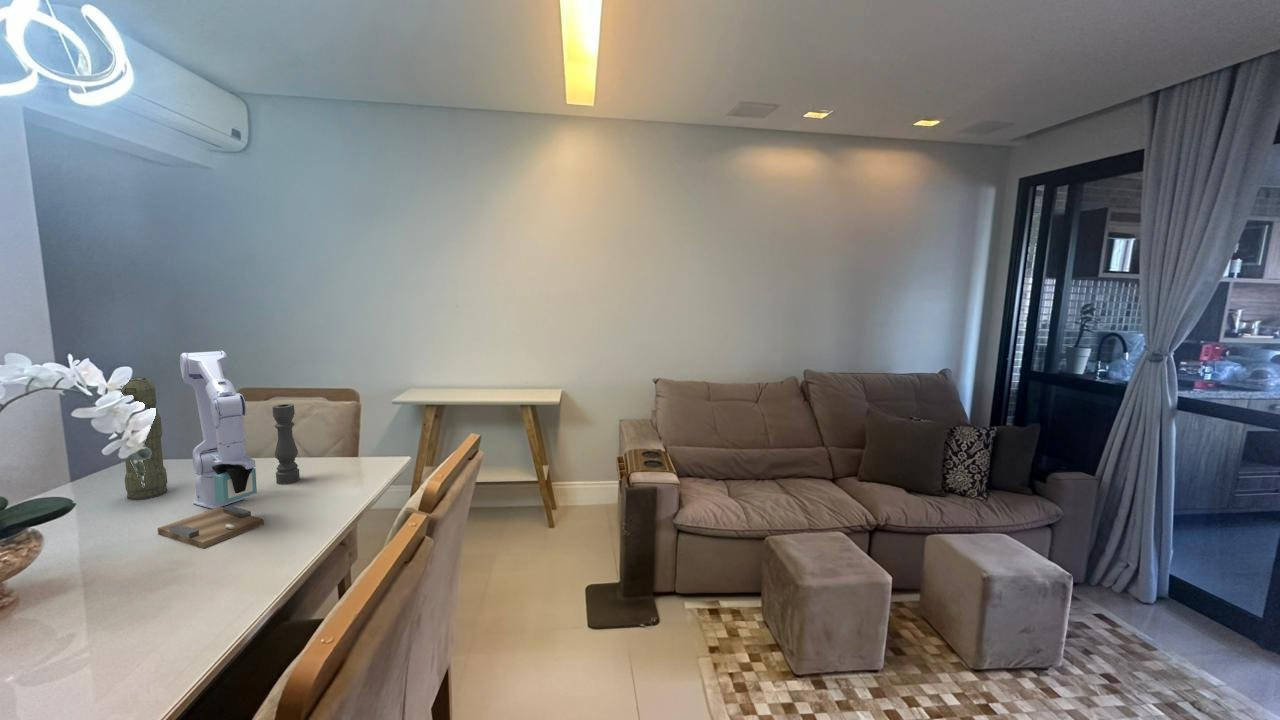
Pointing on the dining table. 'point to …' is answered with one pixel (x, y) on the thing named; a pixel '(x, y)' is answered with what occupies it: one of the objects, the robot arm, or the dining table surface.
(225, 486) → the teal block
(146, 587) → the dining table surface
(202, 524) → the wooden board
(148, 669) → the dining table surface
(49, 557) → the dining table surface
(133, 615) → the dining table surface
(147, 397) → the olive green tall column
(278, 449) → the candle holder
